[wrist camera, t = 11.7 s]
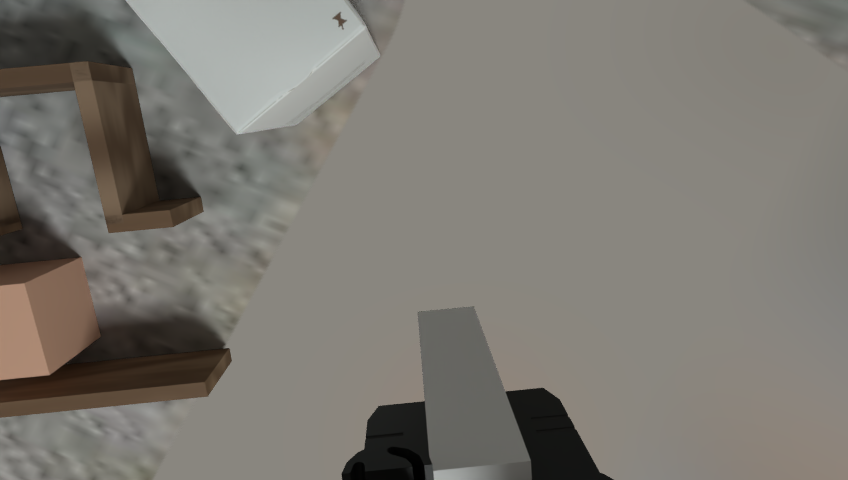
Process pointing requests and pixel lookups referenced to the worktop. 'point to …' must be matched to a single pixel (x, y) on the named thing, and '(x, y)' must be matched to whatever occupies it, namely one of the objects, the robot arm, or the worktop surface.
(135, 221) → the low walled maze tray
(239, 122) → the supplement box
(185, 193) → the worktop surface
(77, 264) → the block
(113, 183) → the frame
